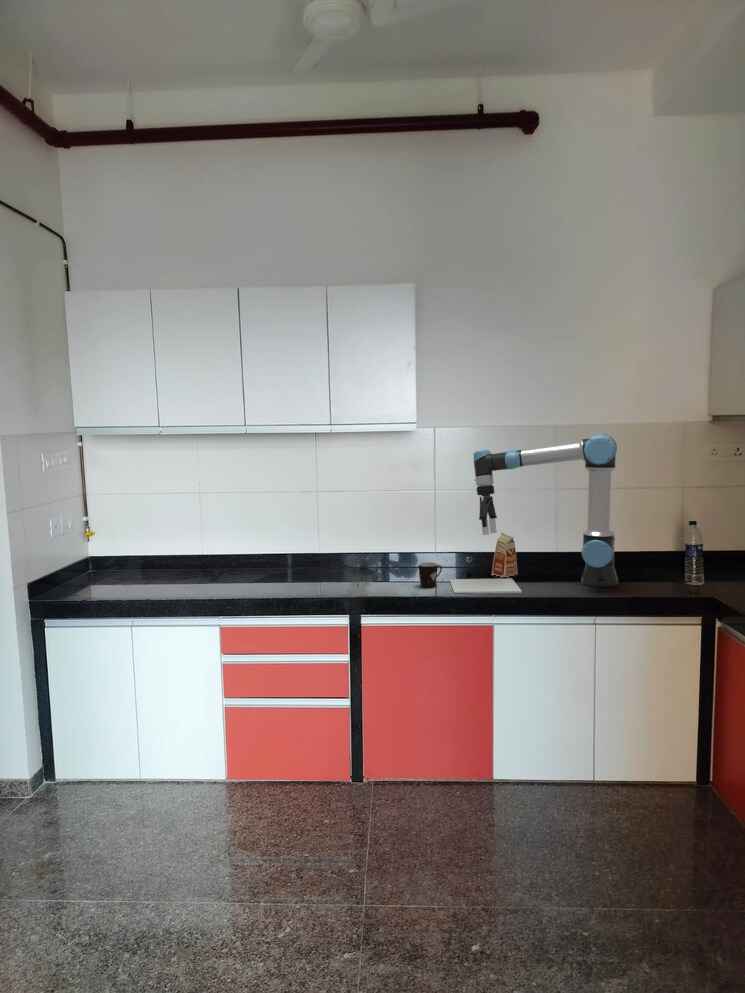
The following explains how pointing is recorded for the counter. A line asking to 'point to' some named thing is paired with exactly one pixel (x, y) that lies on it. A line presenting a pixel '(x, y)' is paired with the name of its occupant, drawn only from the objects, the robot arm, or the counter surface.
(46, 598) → the counter surface
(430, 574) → the coffee mug
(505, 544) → the milk carton
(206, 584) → the counter surface
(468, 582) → the mat
